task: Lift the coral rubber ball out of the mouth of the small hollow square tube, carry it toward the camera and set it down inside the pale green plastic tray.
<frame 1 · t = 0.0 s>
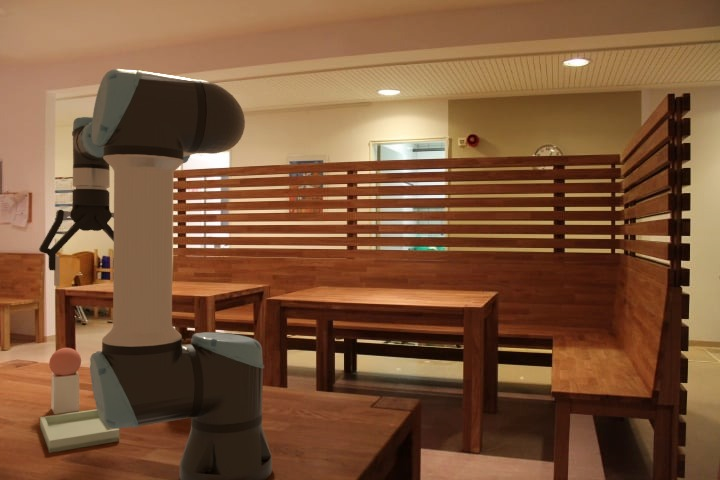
hand: (90, 284, 136), 28 cm above the table, fingers open, 13 cm apart
ball: (65, 362, 136), point 11 cm above the table, touching hollow square tube
hollow square tube: (65, 409, 136), on the table
mug: (194, 404, 142), on the table
tray: (78, 434, 120), on the table
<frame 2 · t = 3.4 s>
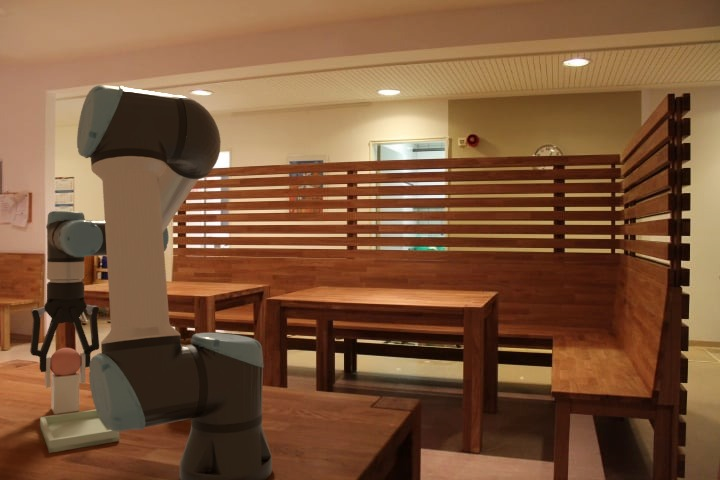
hand: (65, 383, 136), 6 cm above the table, fingers closed on ball, 6 cm apart
ball: (65, 362, 136), point 11 cm above the table, touching hollow square tube, gripper
everything else where it was.
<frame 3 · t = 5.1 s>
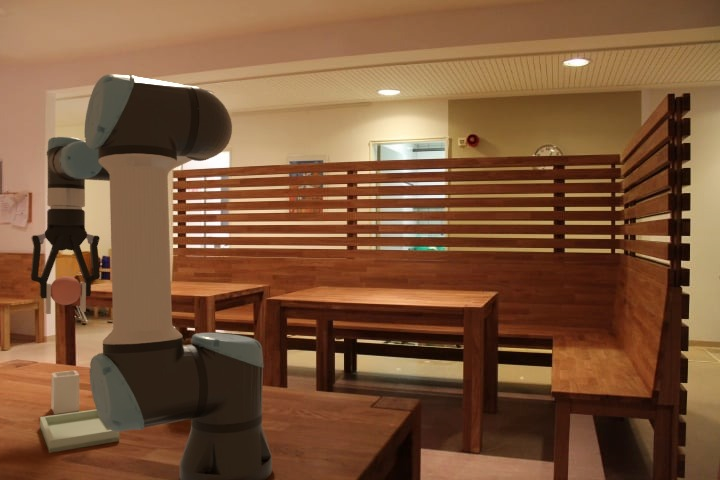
hand: (65, 312, 136), 22 cm above the table, fingers closed on ball, 6 cm apart
ball: (65, 290, 136), point 27 cm above the table, touching gripper
everything else where it was.
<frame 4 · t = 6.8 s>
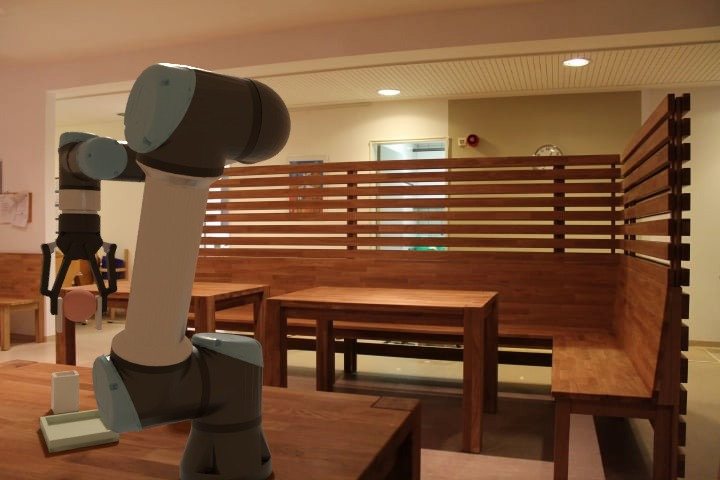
hand: (79, 330, 120), 21 cm above the table, fingers closed on ball, 6 cm apart
ball: (79, 305, 120), point 25 cm above the table, touching gripper
everything else where it was.
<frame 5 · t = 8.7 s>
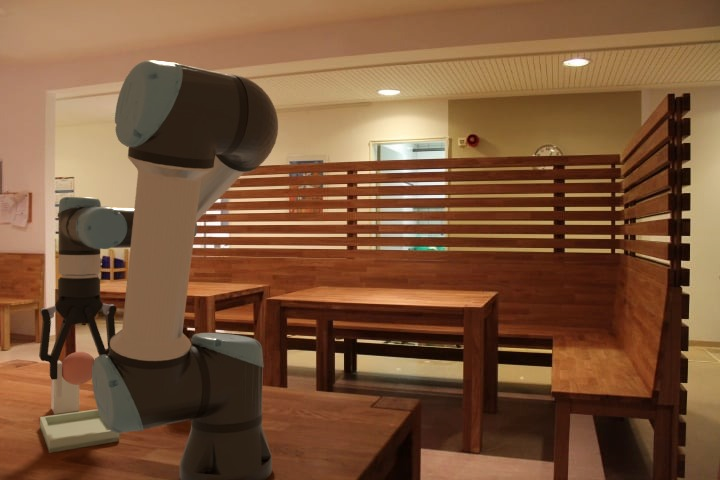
hand: (78, 392, 120), 8 cm above the table, fingers closed on ball, 6 cm apart
ball: (78, 368, 120), point 13 cm above the table, touching gripper
everything else where it was.
when the fingers open (2 cm above the table, at t = 10.4 s): ball drops 3 cm, resting on tray.
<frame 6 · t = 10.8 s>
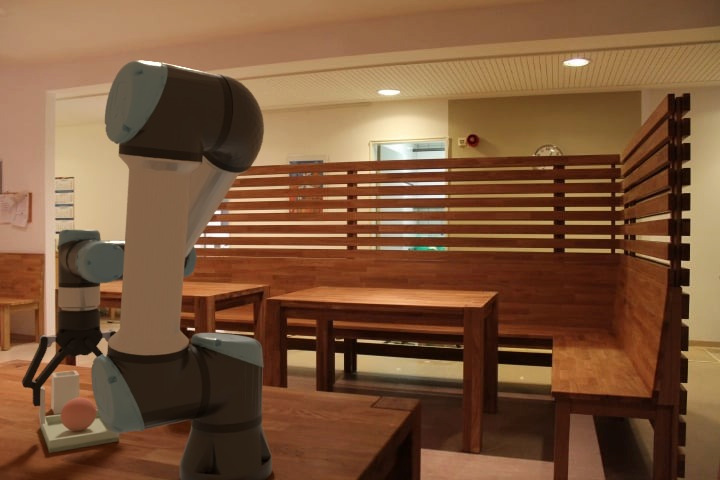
hand: (78, 417, 120), 3 cm above the table, fingers open, 12 cm apart
ball: (78, 414, 120), point 4 cm above the table, touching tray
everything else where it was.
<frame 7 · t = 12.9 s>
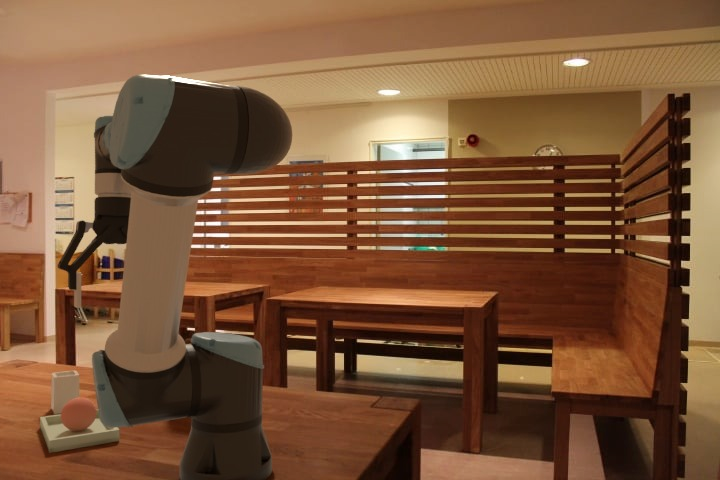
hand: (115, 305, 120), 26 cm above the table, fingers open, 13 cm apart
nothing on the table moved.
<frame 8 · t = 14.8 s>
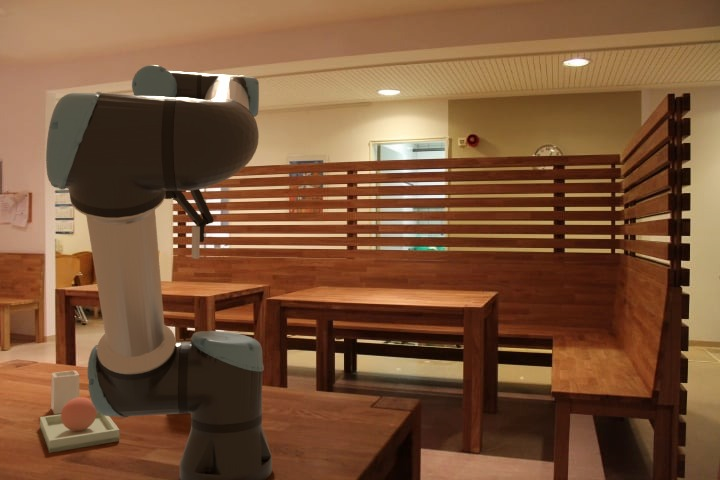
hand: (161, 259, 121), 35 cm above the table, fingers open, 13 cm apart
nothing on the table moved.
at the end: ball inside the target area on the tray (0.1 cm from its centre), point 4.0 cm above the tray's base; ball touching tray; the gripper is holding nothing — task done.
